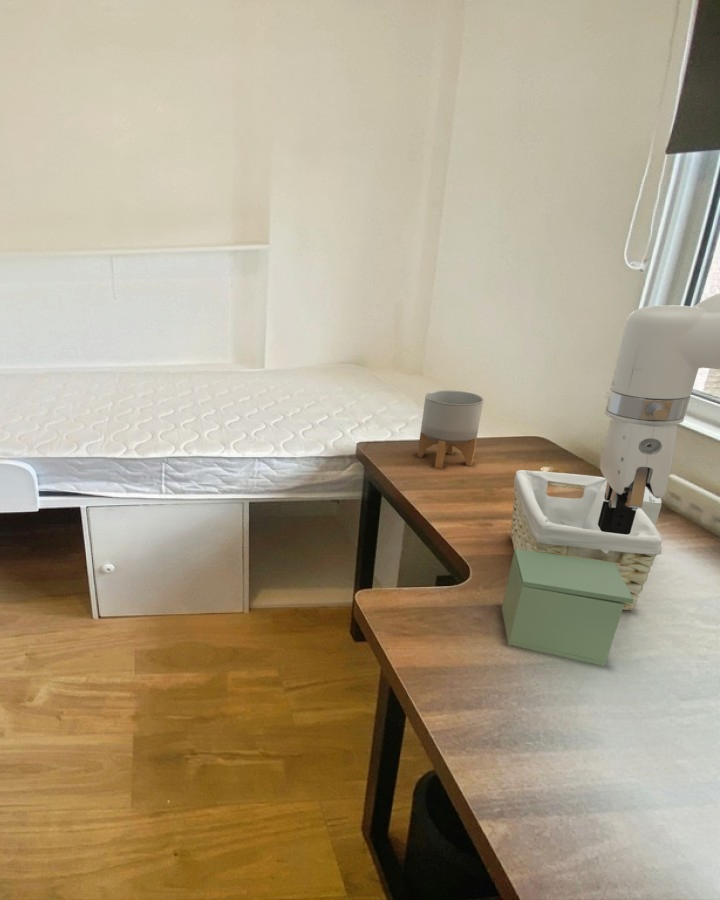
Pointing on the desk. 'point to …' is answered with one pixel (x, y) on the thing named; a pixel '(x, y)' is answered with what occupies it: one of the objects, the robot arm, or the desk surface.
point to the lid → (572, 575)
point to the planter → (450, 424)
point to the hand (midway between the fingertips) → (613, 530)
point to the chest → (559, 621)
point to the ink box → (651, 506)
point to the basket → (580, 526)
